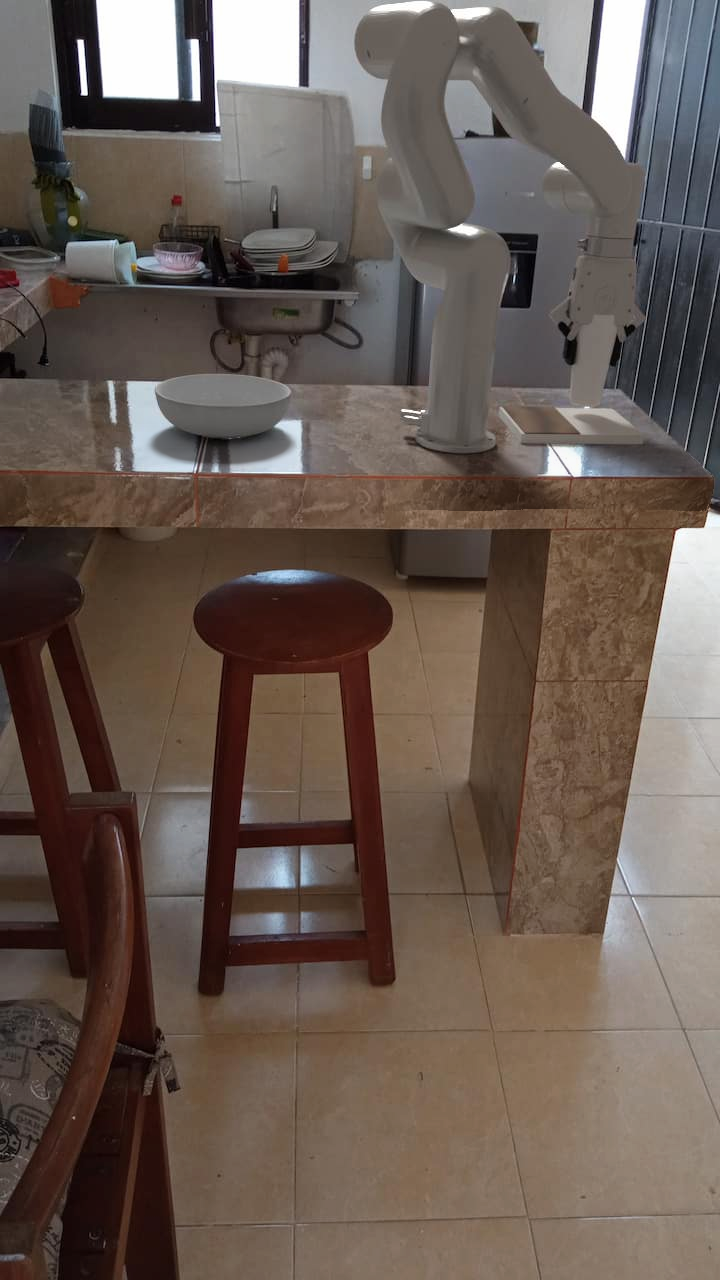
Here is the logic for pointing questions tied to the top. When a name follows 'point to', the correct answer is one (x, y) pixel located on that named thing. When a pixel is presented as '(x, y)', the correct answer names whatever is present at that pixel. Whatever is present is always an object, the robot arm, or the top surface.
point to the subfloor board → (583, 428)
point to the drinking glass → (592, 360)
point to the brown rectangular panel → (540, 420)
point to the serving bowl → (223, 404)
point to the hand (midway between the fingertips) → (590, 363)
